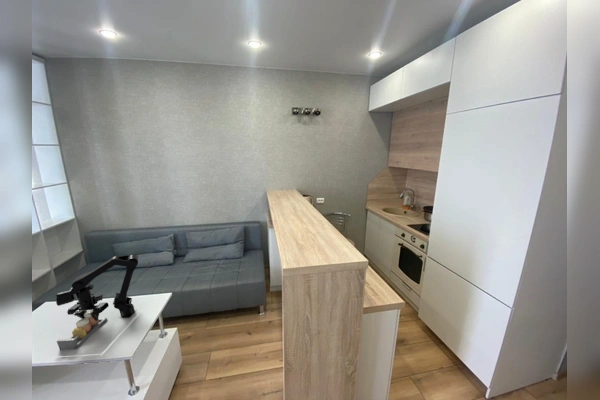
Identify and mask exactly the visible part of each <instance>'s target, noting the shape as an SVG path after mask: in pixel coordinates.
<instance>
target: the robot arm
mask: <svg viewBox="0 0 600 400" xmlns="http://www.w3.org/2000/svg"><path fill="white" fill-rule="evenodd" d="M138 264H139V256H138V255H137V254H125V255H120V256H119V255H118V256H117V255H115V256H112V257H111V258H109V259H108V260H106V261H105V262H103V263H102V264H100V265H98V266H97V267H95V268H94V269H92V270H91V271H89V272H86V273H85V272H84V273H83V274H81V275H78V276H77V277H75V278H74V279H73V282H72V284H71V288H70V289H69V290H65V291H62V292H57V293H56V294H55V295H56V300H55V301H56V305H57V307H59V306H64V305H66V304H70V303H72V302H74V301H75V300H76V299H77V302H76V303H75V304H73V305H72V306H71V307H69V308H68V309H67V311H66V313H67V316H68V315H71V316H72V315H73V316H76V317H78V318H79V319H80V320H81V319H83V318H85V317H84V313H85V312H87V311H89V310H93V312H92V313H91V316H92V317H93V318H94V319H95V320H96V321H97V320H98V318H99V317H100V314H102V312H104V311H105V310H106V309H107V308H108V307H110V306H109V302H100V301H103V299H104V298H103V295H104V294H93V293H92V292H91V290H93V289H94V287H95V285H94V284H90V283H91V282H93V280H95V278H97V277H99V276H100V275H102V274H103V273H105V272H106V271H108V270H109V269H111V268H113V267H115V266H120V267H125V273H124V277H123V280H122V284H121V287H120V290H119V292H116V293H115V296H114V298H113V302H112V305H113V308H114V309H117V310H118V311H119V314H120V319H129V318H131V317H132V316H133V315H134V314H135V313H136V312H137V309H136V310H135V307H134V304H132V301H133V298H132V297H129V296H128V291H129V289H130V288H129V287H130V284H131V281H132V279H133V274H134V271H135V270H136V268H137V266H138ZM98 302H100V303H98ZM99 319H100V318H99Z"/></svg>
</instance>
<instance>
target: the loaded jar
mask: <svg viewBox="0 0 600 400" xmlns="http://www.w3.org/2000/svg"><path fill="white" fill-rule="evenodd" d="M75 325H76V328H81V327H82V328H83V329H85V331H86V334H88V333H89V332H90V331H91V330H92V328H91V325H90V321H89V318H83V319H81V318H80V320H77V321H76V323H75Z"/></svg>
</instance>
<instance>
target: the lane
mask: <svg viewBox="0 0 600 400" xmlns="http://www.w3.org/2000/svg"><path fill="white" fill-rule="evenodd" d="M106 321H108V317H104V318H99V323H98V324H97V325H95V326H93V327H91V328H92V330H91V331H90V332H89V333H88V334H87V335H86V336H85V337H84V338H78V339H76V338H74V337H73V335H71V336H70V337H69V338H59V339H57V340H56V343H57V346H58V349H59V351H62V350H63V351H67V350H77V349H78V348H79V347H80V346H81V345H82V344H83V343H84V342H85V341H87V340H88V339H89V337H91V336H92V335H94V334H95V332H96V331H97V330H99V328H100V327H102V325H103V324H105V323H106Z"/></svg>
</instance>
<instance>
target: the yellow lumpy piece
mask: <svg viewBox="0 0 600 400" xmlns="http://www.w3.org/2000/svg"><path fill="white" fill-rule="evenodd" d="M71 333H72V336H73V337H74V338H76V339H78V338H84V337H85V336H86V335H87V334H86V331H85V329H83V328H82V327H81V328H77V327H74V328H73V330H71Z"/></svg>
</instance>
